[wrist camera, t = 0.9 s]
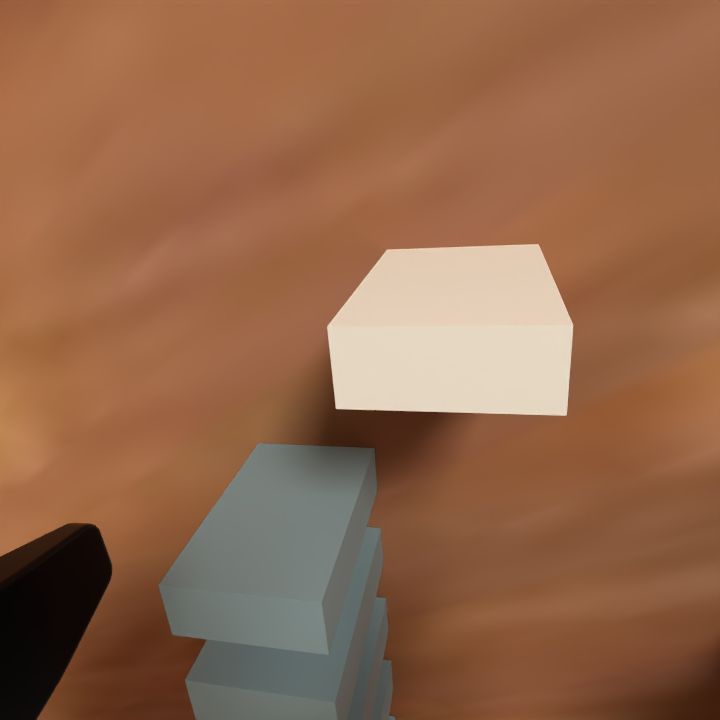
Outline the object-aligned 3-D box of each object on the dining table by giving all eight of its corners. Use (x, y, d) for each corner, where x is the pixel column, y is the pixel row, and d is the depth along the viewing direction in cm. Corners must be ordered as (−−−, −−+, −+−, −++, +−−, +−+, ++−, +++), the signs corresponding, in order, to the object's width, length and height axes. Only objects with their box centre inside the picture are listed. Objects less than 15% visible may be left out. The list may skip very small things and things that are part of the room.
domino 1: (258, 442, 23) (158, 585, 16) (374, 448, 22) (321, 602, 15) (265, 482, 24) (171, 635, 17) (377, 489, 23) (328, 655, 16)
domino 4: (386, 249, 19) (327, 326, 12) (538, 244, 18) (573, 325, 11) (390, 305, 20) (336, 409, 13) (535, 303, 19) (566, 415, 12)
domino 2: (271, 519, 25) (184, 680, 18) (380, 527, 24) (335, 702, 17) (277, 554, 26) (196, 722, 19) (383, 564, 25) (341, 746, 17)
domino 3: (283, 587, 26) (207, 761, 19) (386, 598, 25) (347, 786, 18) (288, 618, 27) (217, 797, 20) (388, 630, 26) (352, 823, 19)
